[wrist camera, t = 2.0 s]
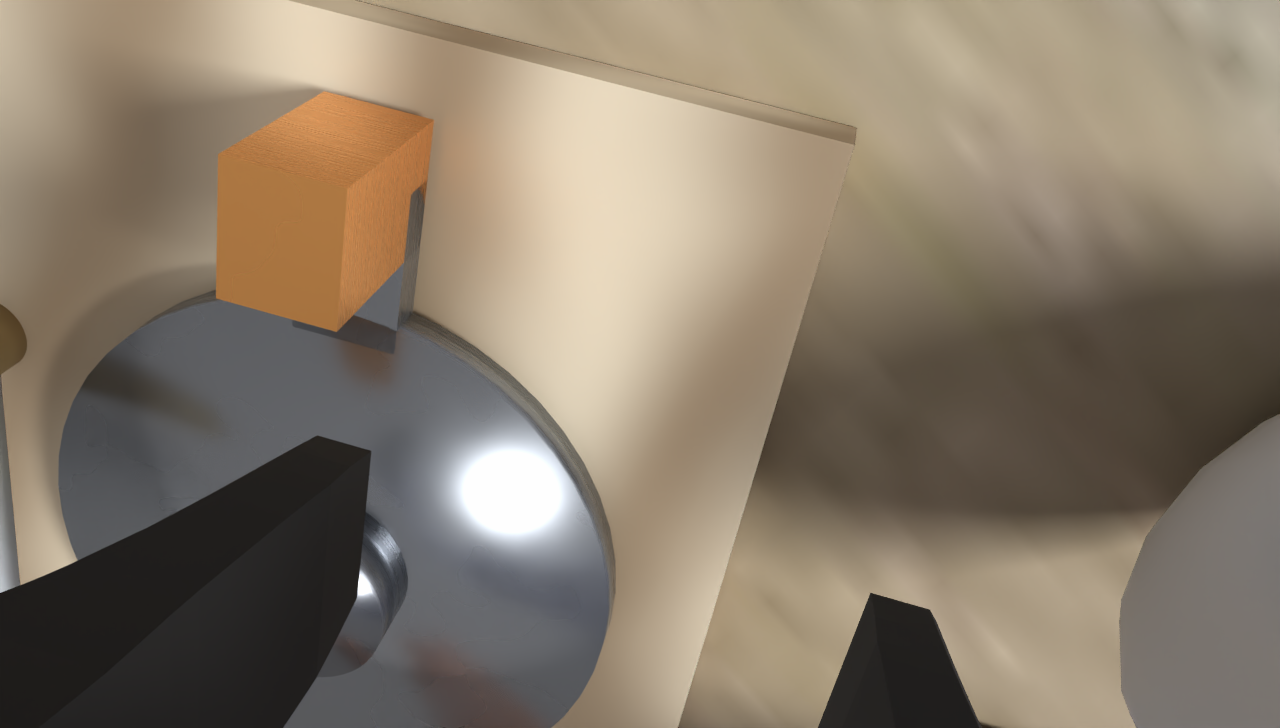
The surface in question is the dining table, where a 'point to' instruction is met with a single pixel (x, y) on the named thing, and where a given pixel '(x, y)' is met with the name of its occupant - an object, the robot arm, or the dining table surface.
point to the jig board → (438, 256)
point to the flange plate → (360, 435)
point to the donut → (1210, 598)
